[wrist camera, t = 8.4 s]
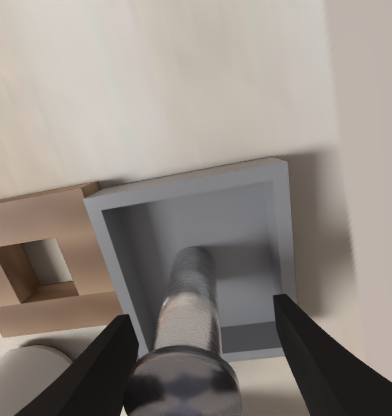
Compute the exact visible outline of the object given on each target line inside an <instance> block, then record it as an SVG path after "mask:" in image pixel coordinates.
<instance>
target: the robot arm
mask: <svg viewBox="0 0 392 416" xmlns="http://www.w3.org/2000/svg"><path fill="white" fill-rule="evenodd" d="M273 304H274V313H275V322H276V330H277V333H278V336H279V340H280V343H281V346H282V349H283V352H284V354H285V357H286V359H287V361H288V364H289V366H290V368H291V371H292V373H293V375H294V378H295V380H296V382H297V385H298V387H299V389H300V392H301V394H302V396H303V399H304V401H305V403H306V406H307V408H308V410H309V413H310V416H392V382H390V381H389V380H387V379H386V378H384V377H383V376H382V375H380V374H379V373H377V372H376V371H375V370H373V369H372V368H370V367H369V366H368V365H366V364H365V363H364V362H362V361H361V360H360V359H358V358H357V357H355V356H354V355H353V354H352V353H350V352H349V351H348V350H347V349H345V348H344V347H343V346H342V345H340V344H339V343H338V342H337V341H336V340H334V339H333V338H332V337H331V336H330V335H329V334H327V333H326V332H325V331H324V330H323V329H322V328H321V327H320V326H318V325H317V324H316V323H315V322H314V321H313V320H312V319H311V318H310V317H309V316H308V315H307V314H306V313H305V312H304V311H303V310H302V309H301V308H300V307H299V306H298V305H297V304H296V303H295V302H294V301H293V300H292V299H291V298H290V297H289V296H288V295H287V294H278V295H273ZM138 350H139V342H138V339H137V336H136V333H135V330H134V328H133V325H132V322H131V319H130V316H129V314H123V315H117V316H116V317H115V318H114V319H113V320H112V321H111V322H110V324H109V325H108V326H107V327H106V328H105V329H104V330H103V331H102V332H101V333H100V334H99V336H98V337H97V338H96V339H95V340H94V341H93V342H92V343H91V344H90V345H89V346H88V347H87V349H86V350H85V351H84V352H83V353H82V354H81V355H80V356H79V357H78V358H77V359H76V360H75V361H74V362H73V363H72V364H71V365H70V366H69V367H68V368H67V369H66V370H65V371H64V372H63V373H62V374H61V375H60V376H59V377H58V378H57V379H56V380H55V381H54V382H52V383H51V384H50V385H49V386H48V387H47V388H46V389H45V390H44V391H42V392H41V393H40V394H39V395H38V396H37V397H36V398H35V399H33V400H32V401H31V402H30V403H29V404H27V405H26V406H25V407H24V408H22V409H21V410H20V411H19V412H18V413H16V414H15V415H14V416H120V414H121V411H122V408H123V395H124V391H125V387H126V384H127V381H128V378H129V375H130V372H131V370H132V368H133V366H134V365H135V363H136V360H137V355H138Z"/></svg>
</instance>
